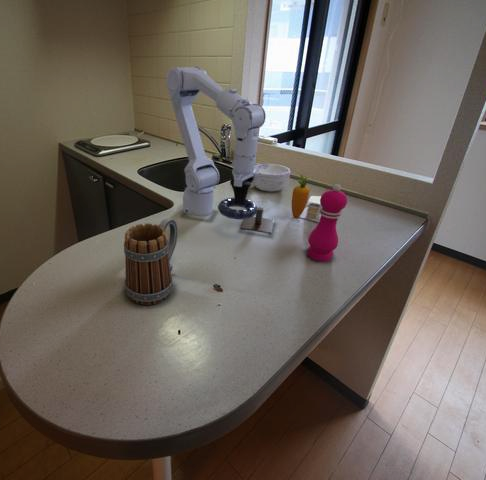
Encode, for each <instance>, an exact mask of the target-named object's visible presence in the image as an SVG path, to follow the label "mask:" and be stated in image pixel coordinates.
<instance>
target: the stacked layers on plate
mask: <svg viewBox="0 0 486 480" xmlns="http://www.w3.org/2000/svg"><path fill="white" fill-rule="evenodd" d="M320 199H321V195H320V196H319V195H311V196H309V198H308V201H307V204H306V206H305V209H304V211H303V213H302V214H301V215H300V217H299V218H302V219H305V220H309V221H312V222H316V223H319V221H320V218H321V214H320V213H319V212H320V208H321V207H322V205H321V203H320Z"/></svg>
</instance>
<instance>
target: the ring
mask: <svg viewBox="0 0 486 480" xmlns="http://www.w3.org/2000/svg"><path fill="white" fill-rule="evenodd" d="M233 207H237V208H244V209H236V208H233ZM257 209H258V206H257V204H256V203H255V202H254V201H252V200H250V199H247V198H246V199H245V201H244V203H243V205H238V204H236V203H235V197H227V198H224V199H222V200H221V201H220V202H219V203H218V205H217V210H218V212H219V213H220V215H221V216H224V217H225V218H228V219H231V220H238V221H239V220H244V219H248V218H251V217H256V212H257Z"/></svg>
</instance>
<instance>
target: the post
mask: <svg viewBox="0 0 486 480" xmlns="http://www.w3.org/2000/svg"><path fill="white" fill-rule="evenodd" d="M257 208H258V209H257V212H256V214H255V216H253V217H251V218H248V219H243V221H242V223H241V226H240V229H241V230H246V231H253V232H259V233H264V234H272V231H273V227H274V223H275V219H271V218H266V217H263V215H264V208H263V207H262V206H261V207H260V206H257Z"/></svg>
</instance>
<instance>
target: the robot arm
mask: <svg viewBox="0 0 486 480" xmlns="http://www.w3.org/2000/svg"><path fill="white" fill-rule="evenodd" d="M165 85H166V88H167V91H168V95H169V98H170V101H171V105H172V109H173V112H174V115H175V116H174V117H175V119H176V122H177V125H178V129H179V132H180V135H181V139H182V142H183V146H184V149H185V152H186V155H187V159H188V163H187V165H185V168H184V169H183V171H184V175H185V184H186V187H185V188H184V190H183V194H182V213H183V214H189V215H194V216H197V217H207V216H210V215H212V214H213V209H214V193H215V192H214V190H215V189H216V186H217V185H218V184H219V183H220V179H221V177H220V171H219V170H218V168H217V167H216V165H215V162H214V161H213V159H211V158H210V157H208V156H207V155H206V152H205V149H204V148H205V147H204V144H203V141H202V137H201V135H200V130H199V127H198V124H197V120H196V118H195V114H194V110H193V107H192V104H193V102H194V101H195V100H196V99H197V97H198V96H199V94H200V92H201V93H202V94H204V95H205V96H207V97H208V98H210V99H212V101H214V102H215V106H216V109H217V110H218V111H219V112H220V113H223V115H224V116H226V117H227V118H229V119H230V120H231V122H232V125H233V128H234V135H235V142H234V152H233V153H234V155H233V165H232V169H231V170H232V171H231V173H232V177H233V178H231V179H230V181H229V183H230V186H231V188H232V191H233V196H234V197H233V198H235V203H236V204H238V205H243V203H244V201H245V199H247V197H248V194H249V191H250V187H251V185H252V184H253V182H252V181H253V180H254V178H255V176H258V174H259V172H258V171H255V165H256V161H257V160H256V159H257V154H258V153H257V152H258V145H259V136H260V128H262V127H263V125H264V124H265V122H266V117H267V115H266V110H265V109H264V107H263V106H262V105H261V104H260V103H253V104H252V103H251V102H250V100H249V99H248V98H244V97H243V96H241V94H238V93H237V92H238V90H237V89H235V88H234V87H233V88H225V89H224V88H223V87H221V86H220V85H219V83H217V82H216V81H215V80H213V78H211V77H210V76H209V75H208V74H207V71H206V70H205V69H203V68H201V66H193V67H192V66H191V67H190V66H187V67H178V66H172V67H170V68H169V70H168V72H167V76H166V80H165Z"/></svg>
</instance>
